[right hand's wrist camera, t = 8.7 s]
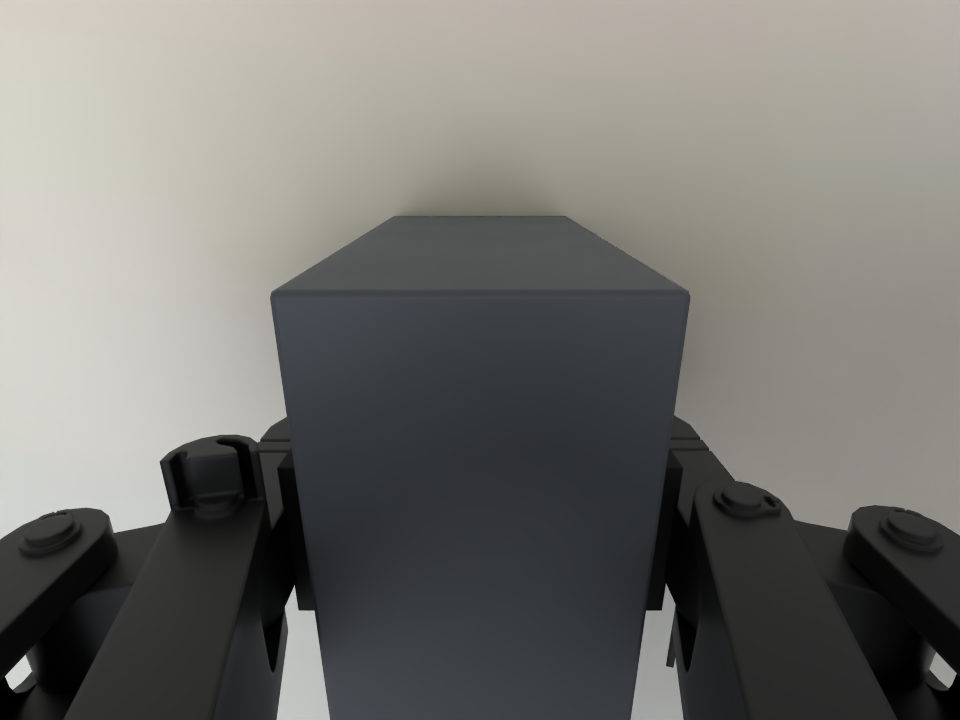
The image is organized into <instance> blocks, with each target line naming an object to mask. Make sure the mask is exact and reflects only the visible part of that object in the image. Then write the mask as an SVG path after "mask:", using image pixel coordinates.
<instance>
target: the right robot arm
mask: <svg viewBox="0 0 960 720" xmlns="http://www.w3.org/2000/svg"><path fill="white" fill-rule="evenodd" d="M160 465H161V469H162V474H163V478H164V482H165V486H166V490H167V495H168V499H169V503H170V507H171V512H170V514H169V516H168V518H167V520H166V522H165V523H162V524H158V525H153V526H148V527H143V528H138V529H133V530H127V531H122V532H117V533H114V532H113V529H112V525H111V522H110V518H109V516H108V515H107V514H106V513H104V512H103V511H102V510H98V509H92V508H79V509H66V510H61V511H57V513H54V512H52V513H49V514H46V515H43V516H41V517H39V518H38V519H36V520H34V521H31V522H29V523H27V524H24V525H22V526H21V527H19V528H17V529H16V530H14V531H13V532H11V533H9V534H8V535H6V536H5V537H3V538H2V539H1V540H0V720H276V719H277V711H278V704H279V696H280V689H281V681H282V673H283V666H284V658H285V650H286V643H287V635H288V626H287V619H286V613H285V605H286V603H287V601H288V599H289V596H290V594H291V592H292V589H293V587H294V585H295V590H296V596H297V603H298V609H299V610H315V609H314V602H313V595H312V588H311V581H310V574H309V567H308V560H307V553H306V546H305V539H304V532H303V525H302V518H301V511H300V504H299V497H298V490H297V483H296V476H295V468H294V461H293V454H292V447H291V440H290V433H289V426H288V419H287V417H286V418H284V419H283V420H281V421H279V422H278V423H276V424H274V425H273V426H271V427H270V428H269V429H268V431H267V432H266V433H265V434H264V436H263V437H262V438H261V439H260V442H258V443H257V442H255V441H254V440H253V439H251V438H250V437H245V436H240V435H218V436H212V437H206V438H201V439H198V440H195V441H192V442H189V443H186V444H184V445H182V446H180V447H178V448H176V449H175V450H173V451H171V452H169V453H168V454H167V455H166V456H165V457H164V458H163V459H162V460H161V461H160ZM666 584H667V586H668V588H669V590H670V593H671V595H672V597H673V599H674V602H675V604H676V607H675V613H674V619H673V625H672V631H671V637H670V643H669V650H668V656H667V663H666V666H668V667H674V661H675V657H676V665H677V672H678V680H679V687H680V695H681V703H682V710H683V718H684V720H960V536H959V535H958V534H956V533H955V532H953V531H951V530H950V529H948V528H946V527H945V526H943V525H942V524H940V523H938V522H936V521H934V520H931V519H929V518H927V517H924V516H922V515H921V514H919V513H917V512H914V511H911V510H907V511H906V510H905V509H903V508H898V507H887V506H877V505H873V506H867V507H860V508H859V509H858V510H856V511H855V512H854V513H852V517H851V520H850V523H849V527H848V530H847V531H846V530H841V529H835V528H830V527H825V526H820V525H814V524H809V523H804V522H800V521H796V520H794V519H793V517H792V515H791V513H790V511H789V510H788V508H787V507H786V506H785V505H784V504H783V503H782V501H781V500H780V499H778V498H777V497H775V496H774V495H772V494H771V493H769V492H768V491H766V490H763V489H761V488H758V487H756V486H753V485H751V484H748V483H743V482H738V481H735V480H734V479H733V477H732V476H731V475H730V474H729V472H728V471H727V470H726V469H725V468H724V466H723V465H722V464H721V463H720V461H719V460H718V459H717V458H716V456H715V455H714V454H713V453H712V452H711V451H709V448H708V447H707V445H706V444H705V443H704V442H703V440H700V437H699V436H698V434H697V433H696V432H695V431H694V429H693V428H692V427H691V426H690V425H689V424H688V423H686V422H684V421H683V420H681V419H679V418H678V417H676V416H673V423H672V430H671V437H670V444H669V451H668V458H667V465H666V472H665V479H664V486H663V493H662V500H661V507H660V514H659V522H658V529H657V536H656V543H655V550H654V557H653V564H652V571H651V578H650V585H649V592H648V599H647V606H646V610H662V605H663V599H664V592H665V585H666ZM936 652H937V653H938V654H939V655H940V656H941V657H942V658H943V659H944V660H945V661H946V662H947V663H948V665H949V666H950V667H951V668H952V669H953V670H954V671H955V672H956V673H957V675H956V677H955V679H954V682H953V684H952V686H951V687H950V688H948V687H946V686H945V685H944V684H943V683H942V682H941V681H939V680H938V679H937V677H936V676H935V675H934V674H933V673H932V672H931V671H930V670H929V668H930V666H931V663H932V661H933V658H934V656H935V653H936ZM25 654H26V657H27V659H28V662H29V665H30V667H31V670H32V672H31V673H30V674H29V676H28V677H27V678H26V679H25V680H24V681H23V682H22V683H21V684H20V685H18V686H17V687H16V688H15V689H13V690H12V689H11V688H10V687H9V685H8V683H7V680H6V678H5V676H6V674H7V673H8V672H9V671H10V670H11V669H12V668H13V667H14V666H15V665H16V664H17V663H18V662H19V661H20V660H21V659H22V658H23V656H24V655H25Z"/></svg>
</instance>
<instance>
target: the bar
mask: <svg viewBox="0 0 960 720" xmlns="http://www.w3.org/2000/svg"><path fill="white" fill-rule="evenodd" d="M270 300H271V307H272V314H273V321H274V328H275V335H276V342H277V349H278V356H279V363H280V370H281V377H282V384H283V391H284V398H285V405H286V412H287V419H288V426H289V433H290V440H291V447H292V454H293V461H294V468H295V476H296V483H297V490H298V497H299V504H300V511H301V518H302V525H303V532H304V539H305V546H306V553H307V560H308V567H309V574H310V581H311V588H312V595H313V602H314V609H315V616H316V623H317V630H318V637H319V644H320V651H321V658H322V665H323V672H324V679H325V686H326V693H327V700H328V707H329V714H330V720H630V719H631V712H632V705H633V698H634V691H635V684H636V677H637V670H638V663H639V655H640V648H641V641H642V634H643V627H644V620H645V613H646V606H647V599H648V592H649V585H650V578H651V571H652V564H653V557H654V550H655V543H656V536H657V529H658V522H659V514H660V507H661V500H662V493H663V486H664V479H665V472H666V465H667V458H668V451H669V444H670V437H671V430H672V423H673V416H674V409H675V402H676V395H677V388H678V381H679V373H680V366H681V359H682V352H683V345H684V338H685V331H686V324H687V317H688V310H689V303H690V295H689V291H687V290H685V289H684V288H682V287H680V286H679V285H677V284H676V283H674V282H672V281H671V280H669V279H667V278H666V277H664V276H662V275H661V274H659V273H658V272H656V271H654V270H653V269H651V268H649V267H648V266H646V265H644V264H643V263H641V262H640V261H638V260H636V259H635V258H633V257H631V256H630V255H628V254H627V253H625V252H623V251H622V250H620V249H618V248H617V247H615V246H613V245H612V244H610V243H609V242H607V241H605V240H604V239H602V238H600V237H599V236H597V235H595V234H594V233H592V232H591V231H589V230H587V229H586V228H584V227H582V226H581V225H579V224H577V223H576V222H574V221H573V220H571V219H569V218H568V217H565V216H395V217H392V218H390V219H389V220H387V221H386V222H384V223H382V224H381V225H379V226H377V227H376V228H374V229H373V230H371V231H369V232H368V233H366V234H365V235H363V236H361V237H360V238H358V239H356V240H355V241H353V242H352V243H350V244H348V245H347V246H345V247H343V248H342V249H340V250H339V251H337V252H335V253H334V254H332V255H331V256H329V257H327V258H326V259H324V260H322V261H321V262H319V263H318V264H316V265H314V266H313V267H311V268H310V269H308V270H306V271H305V272H303V273H301V274H300V275H298V276H297V277H295V278H293V279H292V280H290V281H288V282H287V283H285V284H284V285H282V286H280V287H279V288H277V289H276V290H274V291H272V293H271V296H270Z"/></svg>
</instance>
